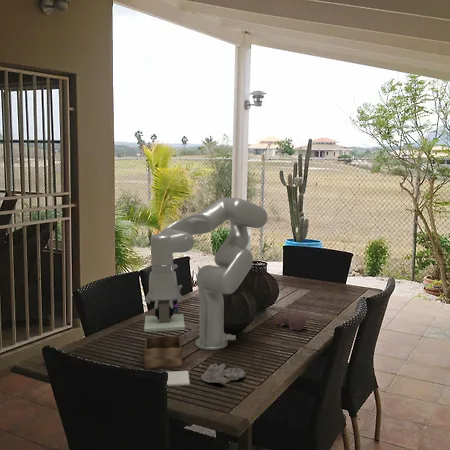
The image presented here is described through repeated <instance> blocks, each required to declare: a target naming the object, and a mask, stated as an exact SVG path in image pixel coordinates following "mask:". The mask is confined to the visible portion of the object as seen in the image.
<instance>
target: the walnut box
mask: <svg viewBox="0 0 450 450" xmlns="http://www.w3.org/2000/svg"><path fill="white" fill-rule="evenodd" d="M181 337H182V336H181V335H169V336H166V335H165V336H145V337H144V348H143V353H144V354H143V358H144V370H155V369H179V368H183V362H182V361H183V359H182V358H183V356H182V355H183V354H182V353H183V350H182V349H183V348H182V347H183V346H182V338H181ZM169 347H173V348H169ZM153 348H157V349H153Z"/></svg>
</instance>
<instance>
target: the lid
mask: <svg viewBox="0 0 450 450" xmlns="http://www.w3.org/2000/svg"><path fill="white" fill-rule="evenodd" d="M169 305H170V303H169V300H161V301H158V306H159V320H157V317H155V315H145V316H144V318H145V319H144V327H143V331H144V332H145V333H146V332H148V333H149V332H150V333H151V332H162V331H163V332H166V331H181V330H182V331H183V330H186V327H185V320H184V319H185V318H184V313H180V314H179V313H178V314H175V313H174V315H173V316H171V319H169Z"/></svg>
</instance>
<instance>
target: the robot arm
mask: <svg viewBox="0 0 450 450" xmlns="http://www.w3.org/2000/svg"><path fill="white" fill-rule="evenodd" d="M226 221H229V224H230V232H229V234H228V236H227V238H225V240H224V242H223V243H222V244H221V246H220V247H219V249H218V250H217V251H216V253H215V255H214V259H213V260H214V263H215V265H212V264H207V265H204V266H202V267H200V268H199V269H198V272H197V275H196V285H197V289H198V298H199V301H198V302H199V307H198V308H199V314H198V315H199V316H198V318H199V323H198V324H199V333H198V334H199V338H197V339H196V340H195V346H196V347H197V348H199V349H202V350H208V351H214V350H216V351H217V350H220V349H224V348H225V347H227V346H228V341H236V335H235V334H234V335H232V334H231V333H225V331H224V326H225V324H224V321H225V320H224V319H225V316H224V308H225V305H224V304H225V302H224V301H225V300H224V295H231V294H233V293H234V292H235V291H237V289H238V288H239V286H240V285H241V284H242V282H243V280H244V279H245V278H246V276H247V275H248V273H249V271H251V269H252V266H253V262H254V261H253V260H254V257H253V254H252V252H251V250H250V249H248V248H247V246H248V244H249V241H250V240H249V238H250V237H249V233H248V231H249V230H248V228H254V229H260V228H263V227H264V226H265V225H266V223H267V221H268V214H267V211H266V209H265V208H263V206H260V205H258V204H255V203H252V202H251V201H247V200H245V199H243V198H235V197H226V196H225V197H221V198H219V199H217V200H216V201H214V202H212V203H211V204H210V205H208V206H207V207H205V208H203V209H201V211H200V212H198V213H195V214H192V215H191V214H190V215H188V216H186V217H183V218H181V219H178V220H176V221H174V222H172V223H170V224H169V225H167V226H166V227H165V228H163V230H161V232H160V233H154V234H153V235H152V236H151V237H150V250H151V251H150V254H151V256H150V257H151V271H150V272H149V276H148V292H147V294H146V296H145V298H144V302H145V303H147V304H149V305H151V307H153V309H154V312H155V313H154V316H155V317H157V320H159V301H169V319H171V316H173V307H174V306H175V305H176V304H177V303H178V304H179V302H181V301H182V300H184V299H183V298H184V297H183V295H182V294H181V292H180V293H179V291H178V288H177V286H178V279H177V273H176V269H178V264H176V263H175V264H174V257H173V255H174V254H176V253H186V252H189V251H191V250H192V249H193V248H194V245H195V238H194V235H203V234H207V233H211V232H212V231H214V230H215V229H217V228H218V227H219V226H221V225H222V224H224V223H225V222H226ZM177 297H178V298H177ZM174 299H175V300H174ZM173 300H174V301H173Z"/></svg>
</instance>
